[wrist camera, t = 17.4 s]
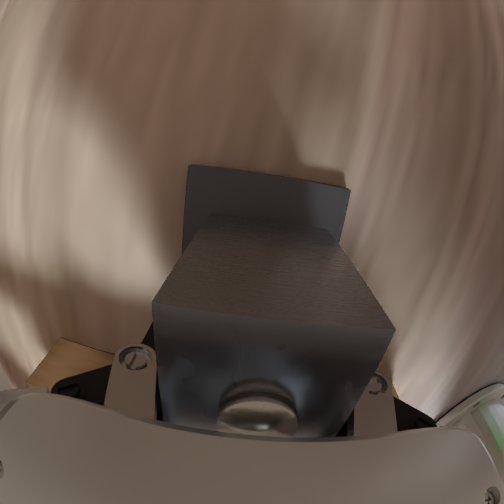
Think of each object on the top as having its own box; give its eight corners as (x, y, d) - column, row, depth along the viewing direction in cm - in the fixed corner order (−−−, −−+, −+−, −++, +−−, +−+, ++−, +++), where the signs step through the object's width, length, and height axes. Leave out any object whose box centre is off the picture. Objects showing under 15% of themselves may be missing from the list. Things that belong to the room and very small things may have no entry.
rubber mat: (346, 188, 12) (350, 190, 12) (297, 370, 16) (298, 377, 16) (191, 164, 12) (188, 166, 11) (182, 356, 16) (180, 363, 15)
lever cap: (287, 376, 14) (296, 496, 7) (200, 366, 14) (173, 485, 7) (326, 228, 11) (403, 342, 4) (211, 212, 11) (144, 314, 4)
